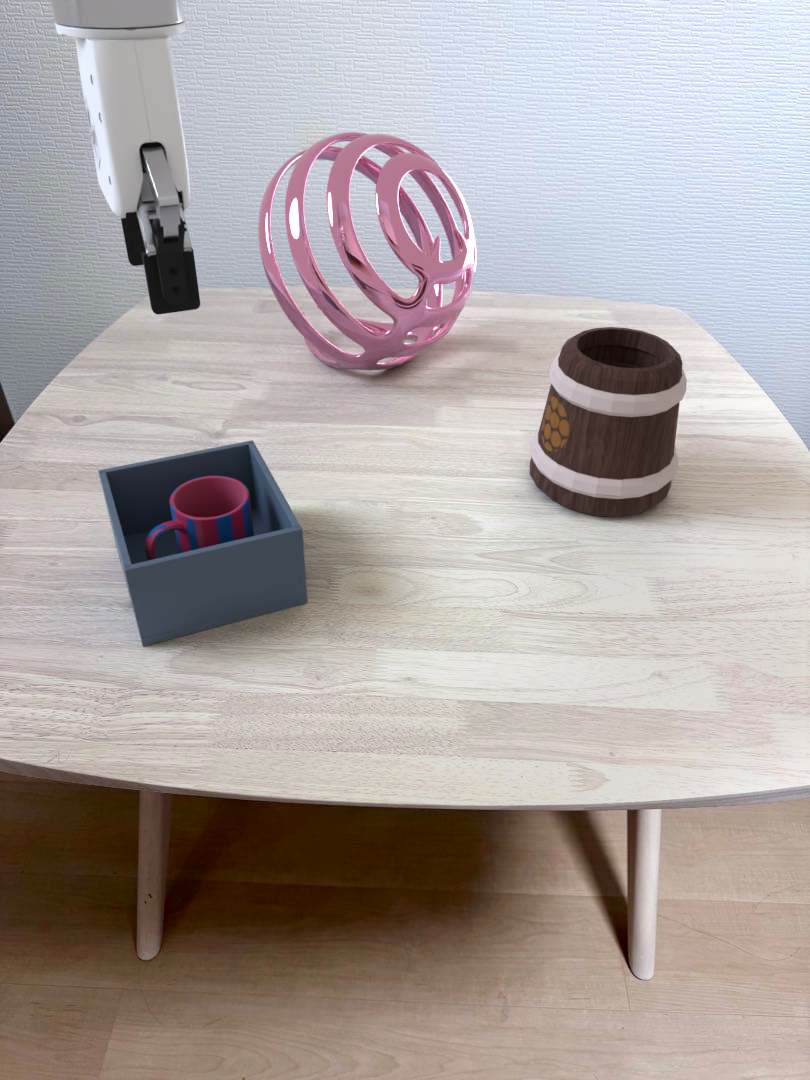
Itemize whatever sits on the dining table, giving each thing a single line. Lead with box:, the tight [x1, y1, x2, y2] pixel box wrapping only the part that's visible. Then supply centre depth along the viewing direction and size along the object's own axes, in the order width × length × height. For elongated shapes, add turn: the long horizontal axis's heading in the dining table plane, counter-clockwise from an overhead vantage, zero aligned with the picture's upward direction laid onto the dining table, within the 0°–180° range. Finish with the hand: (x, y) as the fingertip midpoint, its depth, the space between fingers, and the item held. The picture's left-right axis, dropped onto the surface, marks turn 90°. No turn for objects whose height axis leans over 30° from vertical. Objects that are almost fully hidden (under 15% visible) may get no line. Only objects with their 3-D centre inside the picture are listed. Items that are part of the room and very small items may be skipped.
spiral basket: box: [257, 131, 477, 371], centre depth 105 cm, size 28×28×27 cm
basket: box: [97, 439, 308, 647], centre depth 74 cm, size 8×14×15 cm
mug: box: [529, 326, 688, 518], centre depth 87 cm, size 20×15×15 cm
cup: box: [145, 476, 254, 561], centre depth 74 cm, size 7×10×7 cm
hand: (163, 285), depth 61 cm, fingers open, 9 cm apart
